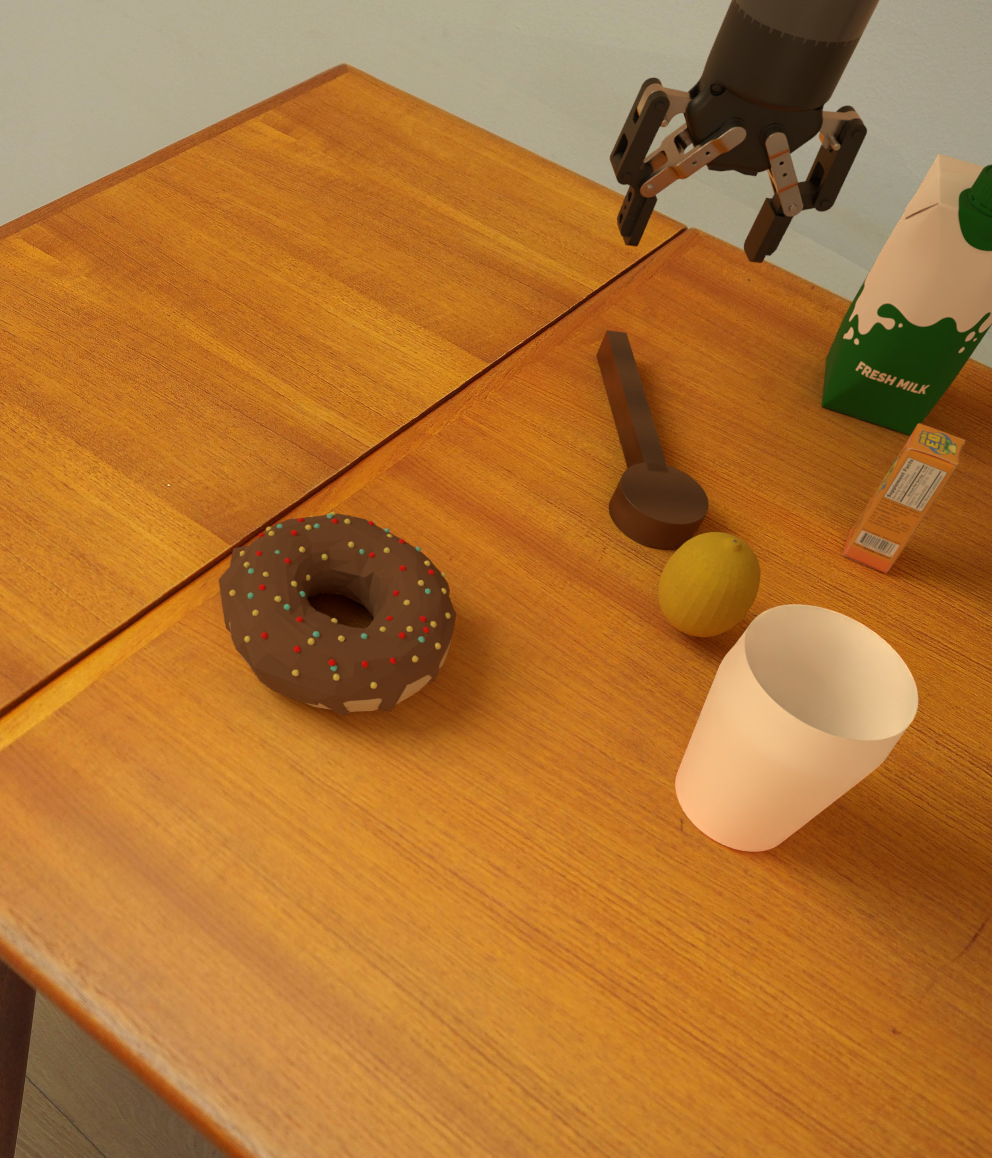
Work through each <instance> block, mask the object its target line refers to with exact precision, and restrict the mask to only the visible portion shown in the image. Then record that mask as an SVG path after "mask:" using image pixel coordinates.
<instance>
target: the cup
mask: <svg viewBox="0 0 992 1158" xmlns="http://www.w3.org/2000/svg"><path fill="white" fill-rule="evenodd" d="M711 683H712V684H711V686H710V689H709V691H708V693H707V696H706V699H705V701H704V703H703V706H702V709H701V711H700V714H699V715H698V719H697V721H696V724H695V727H694V729H693V731H692V734H691V736H690V739H689V742H688V744H687V747H686V749H685V752H684V754H683V757H682V760H681V762H680V765H679V767H678V770H677V771H676V775H675V780H674V781H675V782H674V783H675V784H674V788H675V795H676V798H677V801H678V803H679V806H680V808H681V809H682V811H683V813H684V814H685V816H686V817H687V818H688V820H689V821H690V822H691V823H692V824H693V825H694V826H695V827H696V828H697V829H698V830H699V831H701V832H702V833H703V834H704V835H705V836H707V837H708V838H710V839H712V840H713V841H715V842H717V843H719V844H721V845H723V846H724V847H728V848H729V849H730V848H731V849H734V850H737V851H742V852H748V853H749V852H753V853H756V852H757V853H758V852H765V851H768V850H771V849H774V848H776V847H778V846H779V845H781V844H782V843H783V842H784V841H786V840H787V839H788V838H790V837H791V836H792V835H793V834H795V833H796V832H797V831H799V830H800V829H802V828H803V827H804V826H805V825H806V824H808V823H809V822H810V821H811V820H813V819H814V818H815V817H816V816H818V815H819V814H821V813H822V812H823V811H824V810H825V809H827V808H829V806H831V805H832V804H833V803H835V802H836V801H837V800H838V799H840V798H841V797H842V796H844V795H845V794H847V793H848V792H849V791H850V790H851V789H853V788H854V787H855V786H856V785H857V784H859V783H860V782H861V781H863V780H864V779H866V777H868V776H869V775H870V774H871V773H873V772H874V771H875V770H877V769H878V768H879V767H880V766H881V765H882V764H883V763H884V762H885V761H886V759H887V758H888V756H889V755H890V754H891V753H892V751H893V750H894V747H895V746H896V745H897V743H898V742H899V740H900V739H901V737H902V736H903V735H904V734H905V732H906V730H907V729H908V728H909V727H910V725H911V724H912V722H913V721H914V719H915V717H916V715H917V712H918V709H919V693H918V688H917V683H916V680H915V679H914V676H913V674H912V672H911V670H910V669H909V667H908V665H907V664H906V662H905V661H904V660H903V658H902V657H901V656H900V654H899V653H898V652H897V651H896V650H895V649H894V647H892V646H891V644H889V643H888V642H887V641H886V640H885V639H884V638H883V637H882V636H880V635H879V634H877V633H876V632H875V631H874V630H872V629H871V628H869V627H868V626H866V625H865V624H863V623H861V622H860V621H857V620H855V619H854V618H852V617H850V616H848V615H845V614H843V613H840V612H838V611H836V610H833V609H829V608H825V607H821V606H817V605H810V604H803V603H802V604H800V603H794V604H793V603H792V604H791V603H790V604H782V605H777V606H773V607H771V608H768V609H766V610H764V611H762V612H761V613H759V614H758V615H757V616H756V617H754V618H753V620H752V621H751V622H750V624H749V625H748V626H747V628H746V629H745V630H744V632H743V633H742V635H741V636H740V637H739V639H737V641H736V643H735V644H734V645H733V646H732V647H731V648H730V649H729V651H728V652H727V653H726V654H725V656H724V657H723V659H721V662H720V664H719V666H718V669H717V671H716V673H715V675H714V679H713V681H712V682H711Z"/></svg>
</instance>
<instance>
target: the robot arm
mask: <svg viewBox="0 0 992 1158" xmlns="http://www.w3.org/2000/svg"><path fill="white" fill-rule="evenodd" d="M879 3H880V0H731V1H730V3H729V5H728V9H727V11H726V13H725V15H724V18H723V20H722V22H721V25H720V28H719V30H718V32H717V35H716V37H715V39H714V42H713V44H712V47H711V49H710V52H709V53H708V56H707V59H706V62H705V64H704V68H703V71H702V74H701V76H700V77H699V79H698V80H697V82H696V83H695V84H694V85H693V86H692V87H691V88H690V89H689V90H688V91H683V90H679V89H675V88H671V87H670V88H669V87H665V86H663V84H662V81H661V79H659V78H658V77H649V78H647V79H645V80H644V82H643V83H642V84H641V86H640V89H639V91H638V93H637V95H636V97H635V100H634V102H633V104H632V106H631V108H630V111H629V113H628V115H627V117H626V119H625V122H624V124H623V126H622V128H621V131H620V132H619V135H618V137H617V139H616V141H615V143H614V146H613V148H612V150H611V152H610V155H609V162H610V165H611V167H612V170H613V173H614V176H615V179H616V181H617V183H618V184H620V185H623V186H629V187H628V189H627V191H626V193H625V194H626V195H625V197H624V199H623V201H622V204H621V206H620V208H619V211H618V214H617V216H616V225H617V228H618V230H619V231H618V232H619V235H620V237H622V239H623V242H624V245H625V246H629V247H638V246H639V244H640V242H641V240H642V238H643V236H644V233H645V230H646V228H647V226H648V223H649V222H650V219H651V216H652V214H653V212H654V210H655V207H656V205H657V202H658V197H657V195H658V194H659V193H661V192H662V191H664V190H665V189H666V188H668V187H669V186H671V185H672V184H674V183H675V182H676V181H678V180H686V179H688V178H690V177H691V176H692V175H693V174H694V175H695V173H697V172H698V171H700V170H702V168H703V167H705V166H706V168H707V169H708V171H713V172H720V173H721V172H729V171H734V172H737V173H739V174H742V175H744V176H750V177H751V176H752V177H757V175H758V174H759V173H763V172H767V175H768V178H769V182H770V185H771V188H772V192H773V196H772V197H765V199H764V201H763V204H762V206H761V207H760V209H759V211H758V213H757V215H756V218H755V220H754V222H753V223H752V226H751V228H750V230H749V232H748V234H747V236H746V238H745V239H744V242H743V251H744V253H745V255H746V258H747V260H748V262H750V263H756V264H762V263H763V262H764V260H765V258H766V256H767V257H771V256H772V255H773V254H774V253H775V252H776V251H777V249H778V248H779V245H780V243H781V242H782V240H783V238H784V236H785V234H786V232H787V230H788V228H789V226H790V224H791V222H792V220H793V219H794V217H795V216H798V215H799V214H800V213H801V212H802V211H807V210H812V209H813V210H814V209H815V210H816V211H817V212H819V213H824V212H827V211H829V210H830V209H832V208H833V206H834V205H835V204H836V203H835V202H836V200H837V198H838V196H839V194H840V192H841V190H842V187H843V185H844V184H845V182H846V179H847V177H848V175H849V173H850V170H851V168H852V166H853V164H854V162H855V160H856V159H857V158H856V157H857V155H858V154H859V151H860V149H861V147H862V145H863V143H864V141H865V138H866V136H867V134H868V128H867V127H866V125H865V123H864V121H863V119H862V118H861V116H860V114H859V113H858V112H857V111H856V109H855V108H854V107H853V106H852V105H848V104H847V105H843V106H841V107H840V108H838V109H837V110H836V111H829V110H824V107H825V105H826V104H827V103H828V102H829V101H830V100H831V98H832V96H833V94H834V92H835V90H836V88H837V86H838V84H839V82H840V80H841V79H842V76H843V74H844V72H845V71H846V68H847V66H848V64H849V62H850V60H851V58H852V56H853V54H854V52H855V50H856V48H857V47H858V44H859V42H860V41H861V38H862V36H863V35H864V32H865V30H866V28H867V26H868V25H869V22H870V21H871V18H872V17H873V15H874V12H875V10H876V8H877V7H878V4H879ZM680 114H683V117H684V121H685V123H683V124H682V125H680V126H679V127H678V128H677V129H676V128H675V130H673V131H672V132H670V134H668V135H667V136H666V137H665V138H664V139H663V140H662V141H661V143H660V146H659V147H658V148H656V149H655V150H653V151H652V152H651V153H649V154H648V152H649V151H650V148H651V146H652V144H653V142H654V140H655V138H656V136H657V134H658V132H659V130H660V128H666V127H668V125H669V124H670V122H671V121H672V120H673V118H674V117H675V116H677V115H680ZM818 133H819V134H818ZM817 135H818V140H819V141H820V143H821V144H820V147H819V148H818V151H817V154H816V156H815V157H814V160H813V162H812V165H811V167H810V170H809V172H808V174H807V176H806V179H805V180H804V181H799V179H798V177H797V173H796V169H795V166H794V161H793V159H792V155H791V154H793V153H794V152H796V151H797V150H798V149H800V148H801V147H802V146H804V145H805V144H807V143H808V142H810V141H811V140H812V139H813V138H815V137H816V136H817ZM690 145H692V147H693V148H691V149H690V150H688V151H687V152H686V153H685V151H686V149H687V148H688V147H689V146H690Z"/></svg>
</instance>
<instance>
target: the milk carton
mask: <svg viewBox="0 0 992 1158" xmlns="http://www.w3.org/2000/svg"><path fill="white" fill-rule="evenodd" d="M991 328H992V164H988V165H986V166H984V165H980V164H976V163H972V162H969V161H966V160H962V159H959V158H955V157H952V156H948V155H945V154H941V153H938V154H937V155H936V157H935V159H934V161H933V162H932V164H931V166H930V168H929V169H928V171H927V173H926V175H925V176H924V178H923V180H922V181H921V184H920V185H919V187H918V189H917V190H916V191H915V194H914V195H913V196H912V198H911V199H910V201H909V202H908V204H907V205H906V206H905V209H904V212H903V214H902V216H901V217H900V219H899V220H898V222H897V223H896V224H895V227H894V228H893V230H892V231H891V233H890V235H889V237H888V239H887V240H886V242H885V244H884V246H883V247H882V249H881V251H880V253H879V255H878V256H877V257H876V259H875V261H874V263H873V265H872V267H871V269H870V270H869V272H868V273H867V275H866V277H865V279H864V281H863V282H862V284H861V286H860V288H859V289H858V291H857V293H856V295H855V296H854V297H853V300H852V301H851V304H850V305H849V307H848V308H847V311H846V313H845V314H844V316H843V319H842V320H841V323H840V325H839V327H838V330H837V332H836V335H835V337H834V339H833V341H832V344H831V345H830V348H829V350H828V352H827V355H826V359H825V368H824V370H825V371H824V379H823V387H822V388H823V389H822V396H821V397H822V399H821V407H822V408H825V409H828V410H831V411H835V412H837V413H841V414H843V415H847V416H849V417H853V418H856V419H859V420H862V421H865V422H868V423H871V424H875V425H877V426H880V427H884V428H886V429H890V430H892V431H896V432H899V433H902V434H904V435H908V436H911V434H912V433H913V431H914V429H915V427H916V426H917V424H918V423H920V424H923V422H924V421H925V420H926V418H927V417H928V416H929V414H930V413H931V411H932V410H933V409H934V408H935V406H936V405H937V404H938V402H939V401H940V400H941V399H942V397H943V396H944V395H945V393H946V392H947V390H948V389H949V388H950V387H951V386H952V384H953V383H954V381H955V380H956V378H957V376H958V375H959V374H960V372H961V371H962V369H963V368H964V366H965V365H966V364H967V363H968V361H969V359H970V358H971V357H972V355H973V353H974V352H975V351H976V349H977V347H978V346H979V344H980V343H981V341H982V340H983V339H984V337H985V336H986V334H987V333H988V331H989V329H991Z"/></svg>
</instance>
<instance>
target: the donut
mask: <svg viewBox="0 0 992 1158" xmlns="http://www.w3.org/2000/svg"><path fill="white" fill-rule="evenodd" d="M446 577H447V575H446V572H443V571H440V569H439V568H437V566H436V565H435V564H434V563H433V561H432V560H431V559H430V558H429V557H428V556H427V555H425V554H424V553H423V552H422V549H421V547H420V546H414V545H412V544H410V543H408V542H407V541H405V539H403V538H401V537H398V536H397V535H396V534H394V533H391V530H390V528H387V527H386V528H382V527H380V526H378V525H377V524H376V521H375V520H367V518H366V519H365V518H362V517H358V516H353V515H349V514H348V515H347V514H342V513H336V511H331V512H329V513H328V514H321V515H316V516H314V515H310V516H305V517H298V518H297V517H296V518H289V519H285V520H283V521H282V520H281V521H280V522H278V523H276V524H273V525H271V526H266V528H265V531H264V532H260V533H259V534H258V537H257V538H255V539H254V540H253V541H252V542H250V543H249V544H247V545H243V546H239V547H234V548H232V554H231V558H230V563H229V567H228V568H227V569H226V570H225V571H224V572H223V573H222V574H221V576H220V577H219V579H218V586H219V592H220V600H221V607H222V614H223V619H224V624H225V629H226V630H227V631H228V632H229V633H230V638H231V641H232V642H233V645H234V648H235V650H236V651H237V652H238V653H239V655H240V656H241V658H242V660H243V661H245V663H246V664H247V665H248V667H250V669H251V670H252V672H253V673H254V675H255V676H256V678H257V679H258V681H259V682H260V683H261V684H262V685H264V686H265V687H267V688H268V689H269V690H271V691H273V692H276V693H277V694H280V695H282V696H284V697H287V698H288V699H289V698H290V699H292V700H295V701H297V702H299V703H304V704H306V705H309V706H311V707H313V708H319V709H325V710H330V711H333V712H335V713H336V714H338V715H340V716H341V717H342V716H343V717H344V716H346V715H348V714H349V713H350V714H351V712H352V713H353V712H356V713H357V712H373V711H377V710H382V711H385V712H391V713H392V712H393V710H394V708H395V707H396V705H399V704H401V702H403V701H405V700H407V699H409V698H410V697H411V696H413V695H415V694H416V693H418V692H420V691H421V690H422V689H423V688H424V687H425V686H426V685H428V684H430V683H433V682H434V681H435V680H436V679H437V677H438V676H439V674H440V673H439V672H440V669H441V668H442V667H443V665H444V664H445V661H446V659H447V655H448V653H449V651H450V648H451V645H452V637H453V634H454V630H455V623H456V617H457V612H456V610H455V608H454V606H453V602H452V600H451V596H450V595H451V594H450V593H451V589H450V585H449V582H448V581H447V579H446ZM319 594H327V595H339V596H343V597H346V598H347V599H349V600H352V601H354V602H356V603H358V604H360V605H362V606H363V607H364V608H365V609H366V610H367V612H368V613H369V614H370V615H371V617H372V618H373V619H372V621H371V622H370V624H369V625H368V626H366V627H365V628H364V627H354V626H353V627H352V626H349V625H345V624H343V623H339V621H338V619H337V618H335V617H331V616H330V615H328V614H326V613H323V612H321V611H318V610H317V609H315V608H314V607H313V606H312V605H311V603H310V601H309V600H308V598H311V597H314V596H317V595H319Z"/></svg>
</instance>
